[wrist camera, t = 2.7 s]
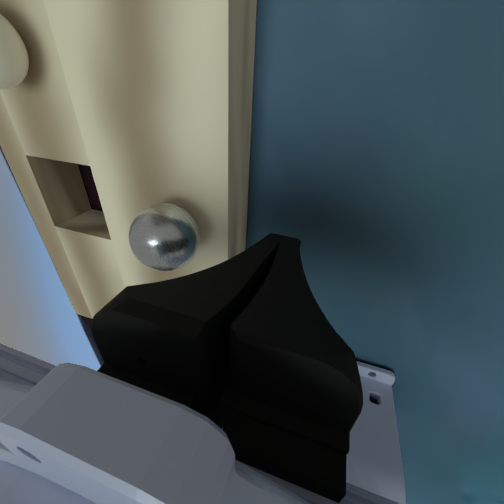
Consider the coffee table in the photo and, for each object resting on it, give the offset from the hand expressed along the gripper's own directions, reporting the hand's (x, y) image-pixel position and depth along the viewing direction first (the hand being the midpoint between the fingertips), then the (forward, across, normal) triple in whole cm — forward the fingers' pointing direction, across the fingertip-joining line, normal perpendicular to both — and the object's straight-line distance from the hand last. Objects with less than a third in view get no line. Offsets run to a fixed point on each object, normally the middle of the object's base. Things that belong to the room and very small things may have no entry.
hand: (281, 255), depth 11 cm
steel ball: (0, +6, 0) cm, 6 cm away
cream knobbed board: (+4, +10, 0) cm, 11 cm away
